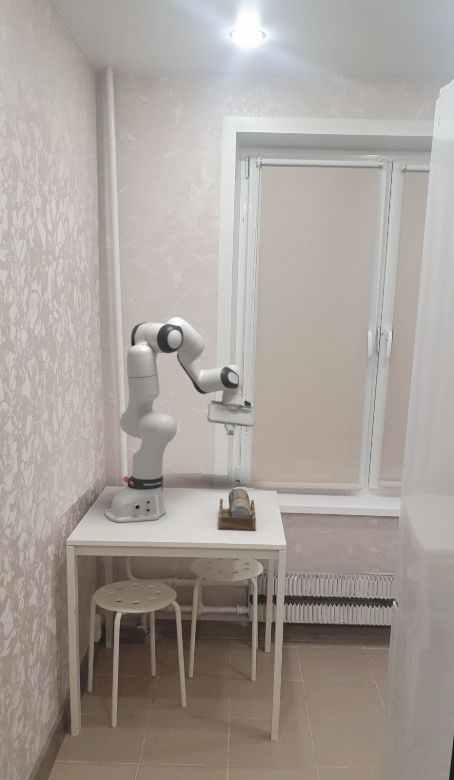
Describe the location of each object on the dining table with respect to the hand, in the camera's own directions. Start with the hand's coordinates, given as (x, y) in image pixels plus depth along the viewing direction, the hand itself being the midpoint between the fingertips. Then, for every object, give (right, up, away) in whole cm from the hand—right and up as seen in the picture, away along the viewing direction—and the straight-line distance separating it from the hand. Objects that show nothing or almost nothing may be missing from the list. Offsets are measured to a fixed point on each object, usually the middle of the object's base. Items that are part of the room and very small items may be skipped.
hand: (230, 434), depth 251 cm
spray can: (+3, -24, -16) cm, 29 cm away
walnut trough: (+2, -29, -28) cm, 41 cm away
